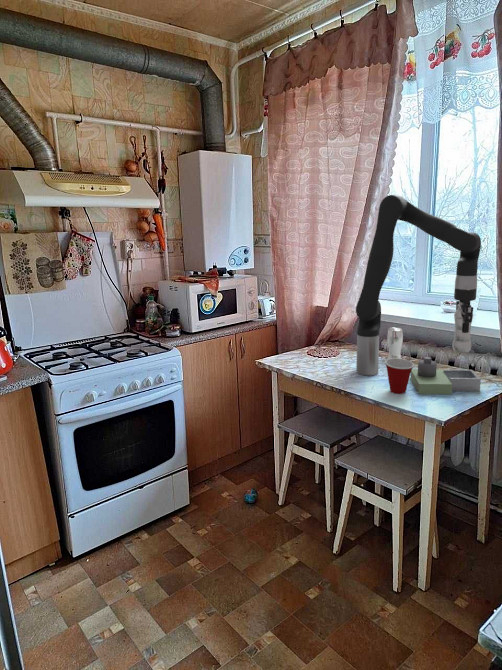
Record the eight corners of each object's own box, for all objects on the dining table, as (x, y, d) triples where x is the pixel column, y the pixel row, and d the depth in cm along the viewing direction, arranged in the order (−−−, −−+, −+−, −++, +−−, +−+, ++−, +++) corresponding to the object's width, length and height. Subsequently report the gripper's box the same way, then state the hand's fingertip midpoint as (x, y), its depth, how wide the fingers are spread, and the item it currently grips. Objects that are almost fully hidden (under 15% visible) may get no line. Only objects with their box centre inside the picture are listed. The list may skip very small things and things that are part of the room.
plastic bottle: (472, 354, 175) (476, 302, 170) (453, 354, 176) (457, 302, 171) (468, 349, 181) (472, 299, 176) (450, 349, 182) (453, 299, 177)
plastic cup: (403, 398, 172) (404, 368, 169) (378, 391, 180) (379, 362, 177) (418, 391, 179) (419, 361, 176) (393, 384, 187) (394, 356, 184)
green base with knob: (418, 393, 176) (419, 366, 173) (410, 378, 193) (411, 352, 190) (451, 394, 174) (453, 366, 171) (440, 378, 191) (441, 352, 188)
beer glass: (403, 358, 219) (404, 328, 216) (399, 362, 214) (400, 331, 210) (389, 356, 223) (390, 326, 219) (384, 360, 217) (385, 330, 214)
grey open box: (449, 390, 177) (450, 378, 176) (442, 381, 188) (443, 369, 186) (479, 391, 175) (480, 378, 174) (471, 381, 186) (472, 369, 185)
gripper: (450, 284, 180) (447, 326, 184) (460, 290, 166) (457, 335, 170) (470, 284, 178) (467, 326, 182) (482, 289, 165) (479, 335, 169)
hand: (462, 330), depth 176 cm, fingers closed on plastic bottle, 6 cm apart
